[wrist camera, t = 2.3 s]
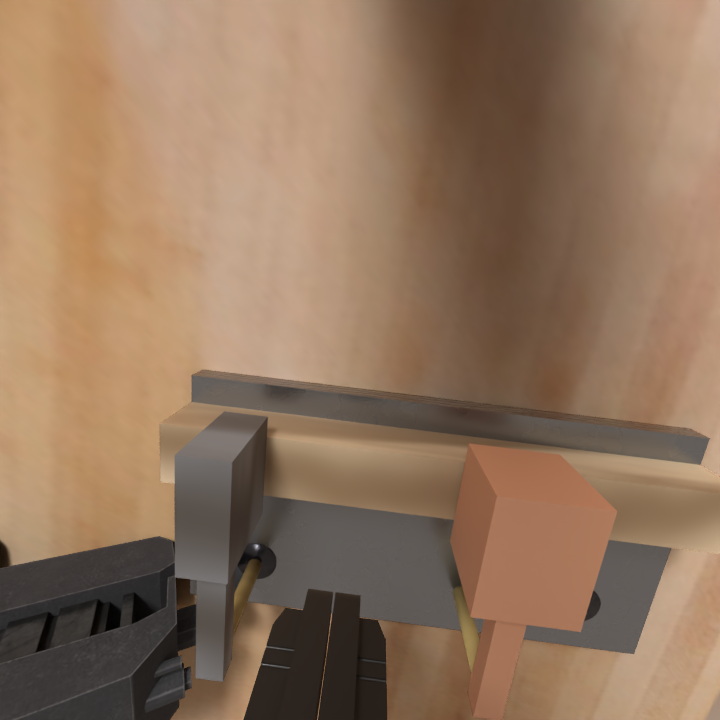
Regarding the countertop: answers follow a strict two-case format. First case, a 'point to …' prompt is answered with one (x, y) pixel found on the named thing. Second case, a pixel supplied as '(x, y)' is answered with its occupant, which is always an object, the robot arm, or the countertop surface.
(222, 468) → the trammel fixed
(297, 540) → the hole plate
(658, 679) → the countertop surface
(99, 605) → the tool
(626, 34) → the countertop surface
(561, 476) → the slider leg
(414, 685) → the countertop surface
